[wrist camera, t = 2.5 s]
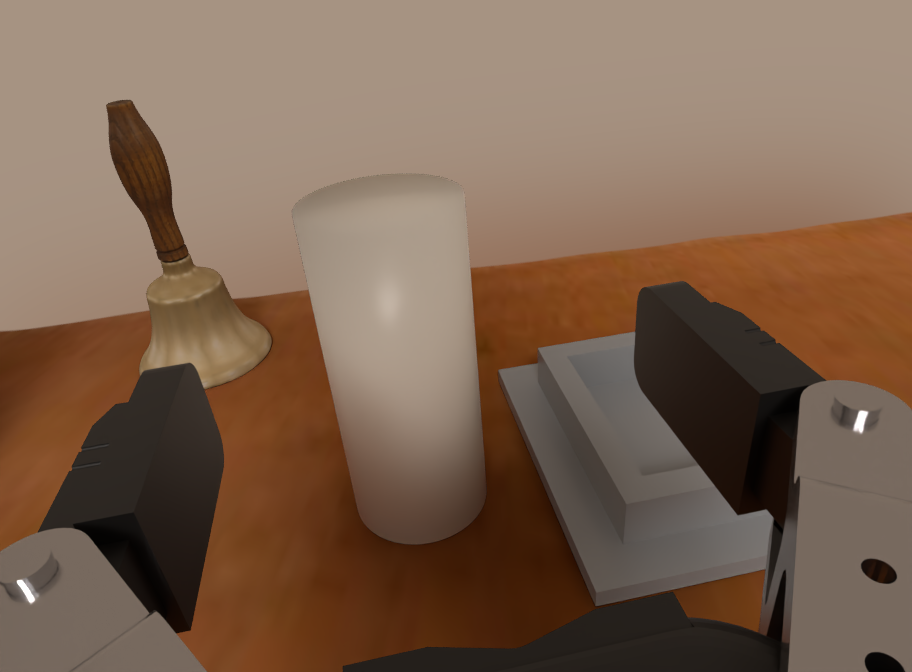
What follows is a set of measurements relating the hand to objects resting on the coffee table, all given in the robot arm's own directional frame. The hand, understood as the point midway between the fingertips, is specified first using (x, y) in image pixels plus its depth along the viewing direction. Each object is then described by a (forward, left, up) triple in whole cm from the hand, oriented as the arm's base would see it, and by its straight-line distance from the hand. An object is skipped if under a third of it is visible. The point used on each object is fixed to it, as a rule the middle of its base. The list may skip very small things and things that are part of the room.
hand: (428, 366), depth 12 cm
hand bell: (-12, +28, -15) cm, 34 cm away
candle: (0, +12, -15) cm, 19 cm away
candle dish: (+13, +12, -15) cm, 23 cm away
